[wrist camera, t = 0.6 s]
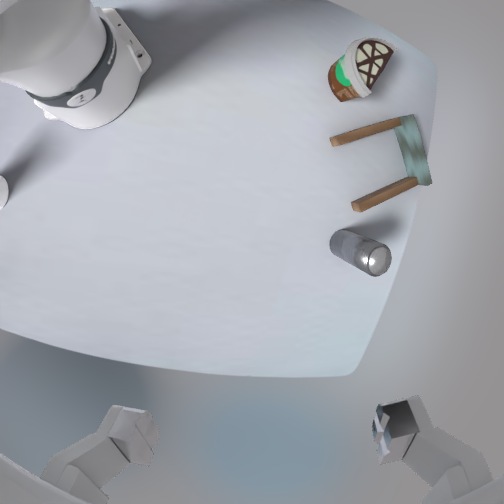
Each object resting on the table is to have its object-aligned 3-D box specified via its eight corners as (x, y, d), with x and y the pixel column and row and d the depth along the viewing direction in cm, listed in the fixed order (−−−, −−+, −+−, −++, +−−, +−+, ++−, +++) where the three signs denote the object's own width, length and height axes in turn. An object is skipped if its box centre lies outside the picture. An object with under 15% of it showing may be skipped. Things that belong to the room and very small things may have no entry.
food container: (341, 42, 39) (370, 21, 30) (366, 64, 41) (399, 48, 32) (308, 85, 41) (337, 66, 31) (337, 107, 42) (370, 95, 33)
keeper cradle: (329, 138, 43) (344, 134, 39) (396, 117, 45) (413, 114, 40) (353, 210, 47) (369, 214, 43) (414, 181, 49) (432, 183, 44)
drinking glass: (326, 236, 48) (363, 253, 37) (349, 225, 48) (390, 239, 37) (333, 261, 49) (370, 283, 38) (356, 249, 49) (395, 268, 38)
